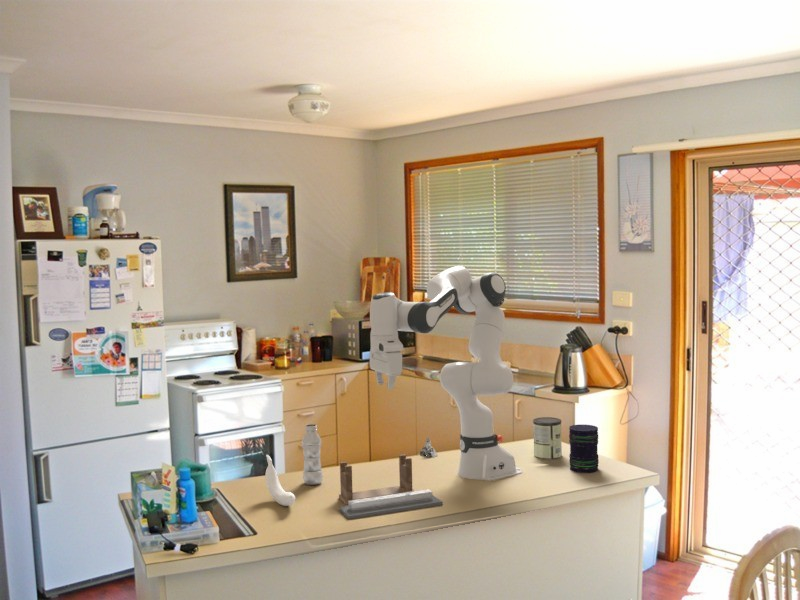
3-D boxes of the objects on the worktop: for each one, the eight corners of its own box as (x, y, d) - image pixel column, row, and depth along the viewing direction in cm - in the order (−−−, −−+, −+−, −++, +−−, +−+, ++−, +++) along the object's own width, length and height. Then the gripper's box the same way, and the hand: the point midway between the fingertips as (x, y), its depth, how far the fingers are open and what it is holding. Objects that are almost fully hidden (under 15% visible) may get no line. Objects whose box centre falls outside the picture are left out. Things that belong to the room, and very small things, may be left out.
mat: (430, 496, 249) (430, 493, 249) (442, 504, 241) (442, 501, 241) (339, 510, 238) (339, 507, 238) (348, 519, 230) (348, 516, 230)
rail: (428, 497, 246) (428, 489, 245) (432, 499, 243) (432, 491, 243) (348, 509, 236) (348, 500, 236) (351, 511, 233) (351, 503, 233)
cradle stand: (406, 488, 258) (405, 453, 258) (414, 494, 252) (413, 458, 251) (338, 498, 250) (337, 462, 249) (345, 504, 243) (344, 467, 243)
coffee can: (537, 453, 300) (536, 416, 299) (564, 455, 295) (564, 417, 295) (530, 459, 290) (529, 421, 289) (558, 462, 286) (557, 423, 285)
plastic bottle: (319, 487, 262) (318, 427, 261) (300, 486, 263) (298, 427, 262) (325, 481, 268) (323, 423, 267) (306, 481, 270) (304, 423, 269)
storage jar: (588, 465, 281) (587, 423, 280) (604, 471, 272) (604, 428, 271) (563, 468, 278) (563, 426, 277) (579, 475, 269) (579, 431, 268)
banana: (288, 514, 236) (287, 465, 235) (261, 499, 251) (259, 453, 250) (303, 510, 238) (301, 462, 238) (275, 496, 254) (273, 450, 253)
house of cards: (450, 457, 298) (450, 437, 298) (434, 461, 292) (434, 441, 292) (433, 453, 305) (433, 433, 304) (417, 457, 299) (416, 437, 298)
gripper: (364, 341, 261) (365, 382, 262) (386, 347, 242) (387, 392, 243) (382, 340, 264) (383, 381, 264) (405, 346, 245) (406, 390, 245)
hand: (385, 386), depth 254 cm, fingers open, 8 cm apart
